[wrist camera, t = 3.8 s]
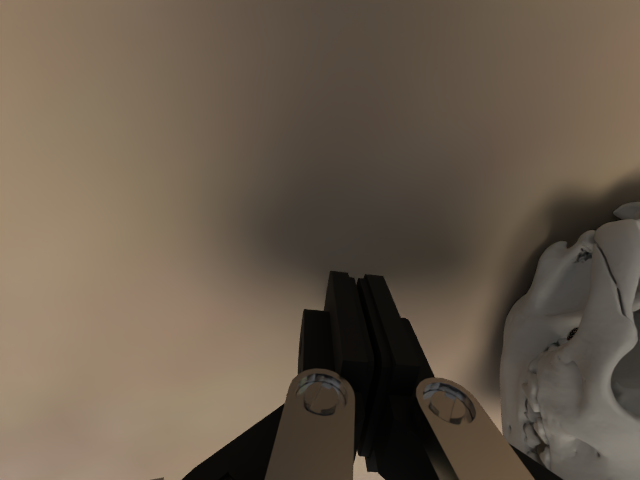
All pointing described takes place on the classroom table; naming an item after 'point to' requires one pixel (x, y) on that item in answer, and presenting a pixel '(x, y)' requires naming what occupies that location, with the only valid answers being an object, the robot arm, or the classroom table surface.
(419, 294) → the classroom table surface
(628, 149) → the classroom table surface
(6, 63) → the classroom table surface
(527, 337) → the skull
